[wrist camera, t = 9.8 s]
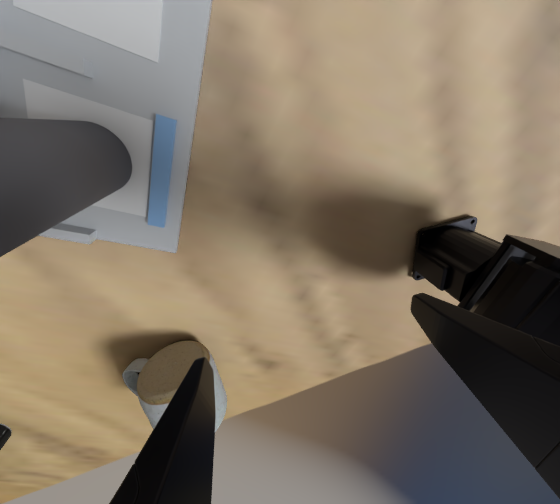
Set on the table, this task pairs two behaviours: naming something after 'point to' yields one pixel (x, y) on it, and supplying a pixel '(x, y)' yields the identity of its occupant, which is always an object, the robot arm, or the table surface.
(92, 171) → the grey upright cylinder
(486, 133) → the table surface
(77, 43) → the white tray
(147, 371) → the ceramic mug
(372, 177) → the table surface
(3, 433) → the camera
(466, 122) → the table surface
